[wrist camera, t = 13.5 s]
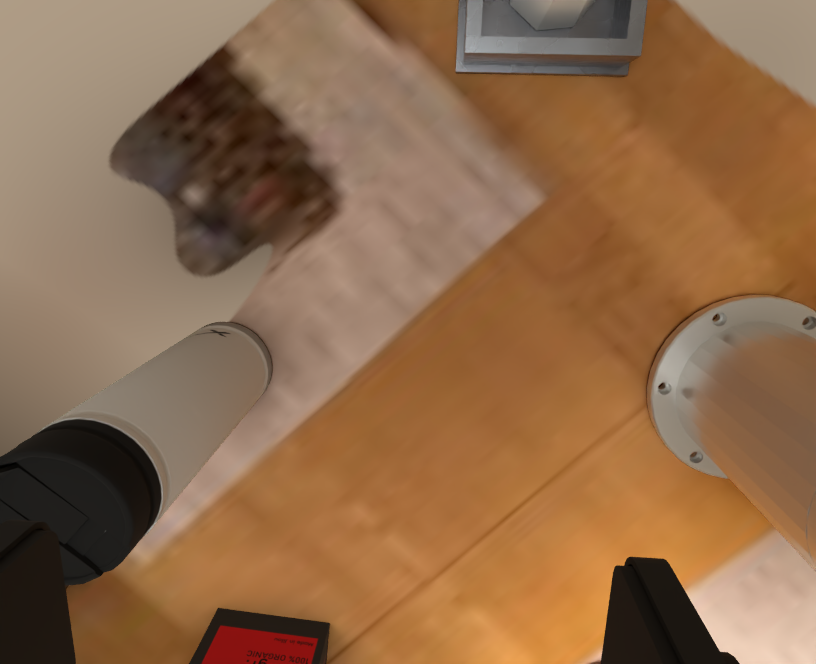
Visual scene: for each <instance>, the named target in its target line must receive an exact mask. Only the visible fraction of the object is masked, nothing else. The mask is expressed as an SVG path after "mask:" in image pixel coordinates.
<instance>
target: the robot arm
mask: <svg viewBox="0 0 816 664" xmlns="http://www.w3.org/2000/svg"><path fill="white" fill-rule="evenodd" d="M715 314H717V317H716V319H714V320H712V319H713V317H714V315H715ZM804 319H805V320H804ZM803 320H804V322H803ZM802 322H803V323H802ZM661 383H663V385H662V386H661V387H658V386H659V385H660V384H661ZM647 406H648V410H649V414H650V419H651V421H652V424H653V426H654V428H655V430H656V432H657V434H658V436H659V437H660V438H661V440H662V441H663V442H664V444H665V445H666V446H667V447H668V448H669V450H670V451H671V452H672V453H673V454H674V455H675V456H676V457H677V458H678V459H680V460H681V461H682V462H684V463H685V464H686V465H688V466H689V467H691V468H693V469H696V470H698V471H700V472H703V473H705V474H707V475H711V476H716V477H720V478H724V479H730V480H731V481H732V482H733V483H734V484H735V486H736V487H737V488H738V489H739V490H740V491H741V492H742V493H743V494H744V495H745V496H746V497H747V498H748V499H749V501H750V502H751V503H752V504H753V505H754V506H755V507H756V508H757V509H758V510H759V511H760V512H761V513H762V514H763V515H764V517H765V518H766V519H767V520H768V521H769V522H770V523H771V524H772V525H773V526H774V527H775V528H776V529H777V530H778V531H779V533H780V534H781V535H782V536H783V537H784V538H785V539H786V540H787V541H788V542H789V543H790V544H791V545H792V546H793V547H794V549H795V550H796V551H797V552H798V553H799V554H800V555H801V556H802V557H803V558H804V559H805V560H806V561H807V562H808V564H809V565H810V566H811V567H812V568H813V569H814V570H815V571H816V311H814V310H812V309H811V308H809V307H807V306H805V305H803V304H800V303H797V302H795V301H792V300H790V299H785V298H781V297H777V296H772V295H745V296H738V297H732V298H729V299H725V300H722V301H719V302H716V303H713V304H711V305H709V306H707V307H705V308H704V309H702V310H700V311H698V312H696V313H694V314H693V315H692V316H691V317H689V318H688V319H687V320H685V321H684V322H683V323H681V324H680V325H679V326H678V327H677V328H676V329H675V330H674V332H673V333H672V334H671V335H670V336H669V337H668V338H667V339H666V341H665V342H664V344H663V345H662V347H661V349H660V350H659V352H658V353H657V355H656V358H655V360H654V363H653V365H652V367H651V370H650V374H649V380H648V385H647ZM693 452H694V453H693ZM0 664H76V660H75V652H74V645H73V638H72V631H71V624H70V617H69V610H68V603H67V596H66V589H65V582H64V575H63V568H62V561H61V554H60V547H59V540H58V536H57V534H56V533H55V532H53V531H51V530H50V527H49V526H48V525H47V523H45V522H42V521H25V520H7V521H5V522H3V523H2V524H0ZM601 664H739V662H738V661H737V660H736V658H735V657H734V656H732V655H731V654H729V653H728V652H720V651H719V649H718V648H717V646H716V644H715V642H714V641H713V639H712V637H711V635H710V634H709V632H708V630H707V629H706V627H705V625H704V623H703V622H702V620H701V618H700V616H699V615H698V613H697V611H696V609H695V608H694V606H693V604H692V603H691V601H690V599H689V597H688V596H687V594H686V592H685V590H684V589H683V587H682V585H681V584H680V582H679V580H678V578H677V577H676V575H675V573H674V571H673V570H672V568H671V566H670V564H669V563H668V562H667V561H666V560H665V559H657V558H641V557H629V558H627V560H626V562H625V566H615V568H614V572H613V578H612V585H611V592H610V600H609V607H608V614H607V622H606V629H605V636H604V644H603V651H602V658H601Z"/></svg>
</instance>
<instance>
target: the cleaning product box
mask: <svg viewBox="0 0 816 664" xmlns="http://www.w3.org/2000/svg"><path fill="white" fill-rule="evenodd" d="M329 626H330V623H325V622H318V621H311V620H303V619H296V618H288V617H281V616H274V615H266V614H259V613H251V612H244V611H236V610H229V609H222V608H218V609H217V611H216V613H215V615H214V617H213V619H212V621H211V623H210V625H209V627H208V629H207V631H206V632H205V634H204V636H203V638H202V640H201V642H200V644H199V646H198V648H197V650H196V652H195V654H194V656H193V657H192V659H191V661H190V663H189V664H326V660H327V649H328V637H329Z"/></svg>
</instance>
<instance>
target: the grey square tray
mask: <svg viewBox="0 0 816 664" xmlns="http://www.w3.org/2000/svg"><path fill="white" fill-rule="evenodd" d="M646 8H647V0H596V1H595V2H594V3H593V4H592V6H591V7H590V8H589V9H588V10H587V11H586V13H585V14H584V15H583V16H582V17H581V19H580V20H579V21H578V22H577V23H576V24H575V26H574V27H569V28H558V29H548V30H537V31H536V30H535V29H534V28H533V27H532V26H531V25H530V24H529V23H528V22H527V21H526V20H525V19H524V18H523V17H522V16H521V15H520V14H519V13H518V12H517V11H516V10H515V9H514V8H513V7H512V6H511V5H510V0H459V11H458V34H457V56H456V73H472V74H521V75H571V76H620V77H625V76H627V75H628V68H629V63H630V62H631V61H633V60H635V59H636V58H638V57H640V56H641V50H642V42H643V33H644V25H645V17H646Z"/></svg>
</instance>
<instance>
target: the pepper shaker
mask: <svg viewBox="0 0 816 664" xmlns="http://www.w3.org/2000/svg"><path fill="white" fill-rule="evenodd" d="M595 1H596V0H510V5H511V6H512V7H513V8H514V9H515V10H516V11H517V12H518V13H519V14H520V15H521V16H522V17H523V18H524V19H525V20H526V21H527V22H528V23H529V24H530V25H531V26H532V27H533V28H534V29H535V30H536V31H537V30H548V29H558V28H569V27H574V26H575V24H576V23H577V22H578V21H579V20H580V19H581V17H582V16H583V15H584V14H585V13H586V11H587V10H588V9H589V8H590V7H591V6H592V4H593V3H594V2H595Z"/></svg>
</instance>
